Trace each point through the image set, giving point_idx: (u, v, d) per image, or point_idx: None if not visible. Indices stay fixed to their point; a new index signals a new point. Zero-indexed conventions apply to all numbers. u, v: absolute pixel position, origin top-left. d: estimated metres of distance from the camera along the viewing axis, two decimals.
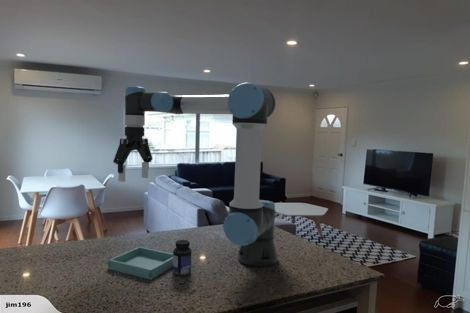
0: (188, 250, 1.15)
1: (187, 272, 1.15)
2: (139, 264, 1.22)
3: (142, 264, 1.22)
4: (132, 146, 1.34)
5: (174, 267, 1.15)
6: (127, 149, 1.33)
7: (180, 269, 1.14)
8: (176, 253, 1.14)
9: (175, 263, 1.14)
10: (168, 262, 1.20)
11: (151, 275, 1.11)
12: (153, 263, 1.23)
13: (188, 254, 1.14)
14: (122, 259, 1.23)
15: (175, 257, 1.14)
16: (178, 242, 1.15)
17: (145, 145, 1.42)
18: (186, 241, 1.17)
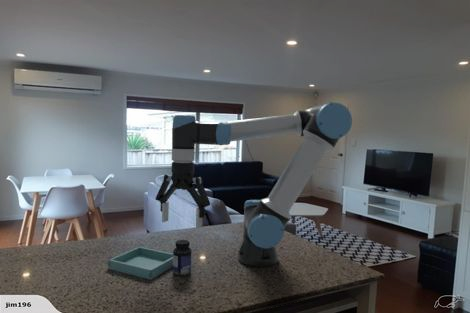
0: (188, 250, 1.15)
1: (187, 272, 1.15)
2: (139, 264, 1.22)
3: (142, 264, 1.22)
4: (172, 184, 1.15)
5: (174, 267, 1.15)
6: None
7: (180, 269, 1.14)
8: (176, 253, 1.14)
9: (175, 263, 1.14)
10: (168, 262, 1.20)
11: (151, 275, 1.11)
12: (153, 263, 1.23)
13: (188, 254, 1.14)
14: (122, 259, 1.23)
15: (175, 257, 1.14)
16: (178, 242, 1.15)
17: None
18: (186, 241, 1.17)
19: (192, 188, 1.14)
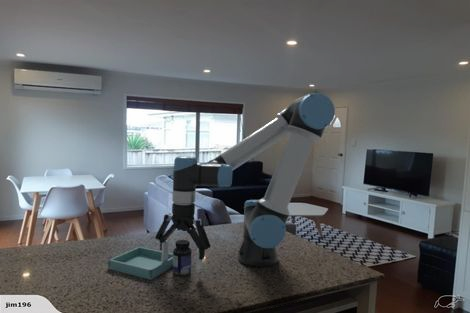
0: (188, 250, 1.15)
1: (187, 272, 1.15)
2: (139, 264, 1.22)
3: (142, 264, 1.22)
4: (172, 225, 1.15)
5: (174, 267, 1.15)
6: None
7: (180, 269, 1.14)
8: (176, 253, 1.14)
9: (175, 263, 1.14)
10: (168, 262, 1.20)
11: (151, 275, 1.11)
12: (153, 263, 1.23)
13: (188, 254, 1.14)
14: (122, 259, 1.23)
15: (175, 257, 1.14)
16: (178, 242, 1.15)
17: None
18: (186, 241, 1.17)
19: (192, 230, 1.14)
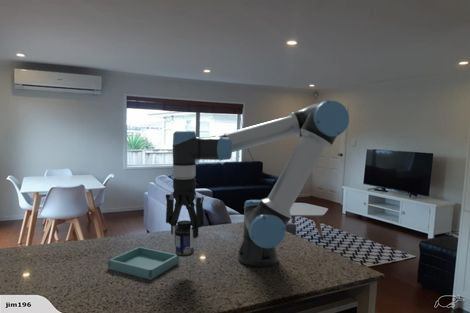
0: None
1: (190, 252, 1.14)
2: (139, 264, 1.22)
3: (142, 264, 1.22)
4: (175, 202, 1.15)
5: (177, 247, 1.14)
6: None
7: (183, 249, 1.13)
8: (178, 233, 1.13)
9: (177, 243, 1.14)
10: (168, 262, 1.20)
11: (151, 275, 1.11)
12: (153, 263, 1.23)
13: None
14: (122, 259, 1.23)
15: (177, 237, 1.14)
16: (180, 222, 1.15)
17: None
18: (188, 221, 1.16)
19: (191, 206, 1.14)
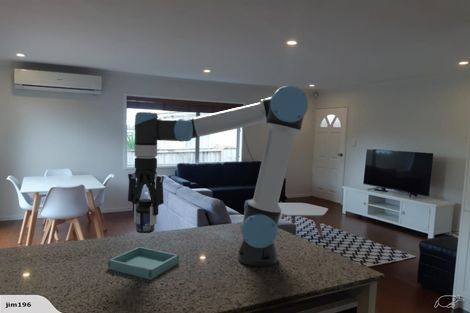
0: None
1: (150, 229, 1.19)
2: (139, 264, 1.22)
3: (142, 264, 1.22)
4: None
5: (137, 224, 1.19)
6: None
7: (143, 225, 1.17)
8: (138, 210, 1.18)
9: (138, 220, 1.18)
10: (168, 262, 1.20)
11: (151, 275, 1.11)
12: (153, 263, 1.23)
13: None
14: (122, 259, 1.23)
15: (138, 214, 1.18)
16: (141, 200, 1.19)
17: None
18: (149, 200, 1.20)
19: (152, 185, 1.18)
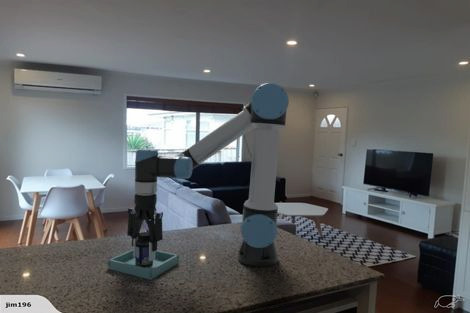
0: None
1: (149, 263, 1.20)
2: None
3: None
4: (136, 217, 1.20)
5: (136, 258, 1.20)
6: None
7: (142, 259, 1.19)
8: (138, 244, 1.19)
9: (137, 254, 1.19)
10: (168, 262, 1.20)
11: (151, 275, 1.11)
12: (153, 263, 1.23)
13: None
14: (122, 259, 1.23)
15: (137, 248, 1.19)
16: (140, 234, 1.20)
17: None
18: (148, 233, 1.22)
19: (151, 221, 1.20)
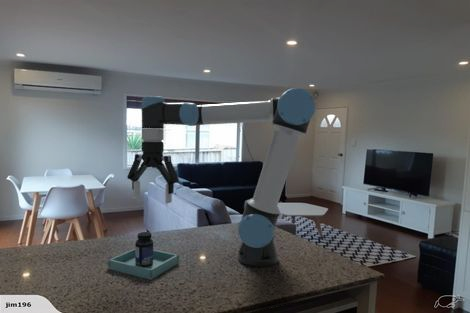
0: (149, 242, 1.20)
1: (149, 263, 1.20)
2: None
3: None
4: (142, 163, 1.21)
5: (136, 258, 1.20)
6: None
7: (142, 259, 1.19)
8: (137, 244, 1.19)
9: (137, 254, 1.19)
10: (168, 262, 1.20)
11: (151, 275, 1.11)
12: (153, 263, 1.23)
13: (149, 245, 1.20)
14: (122, 259, 1.23)
15: (137, 248, 1.19)
16: (140, 234, 1.20)
17: None
18: (148, 233, 1.22)
19: (161, 166, 1.20)
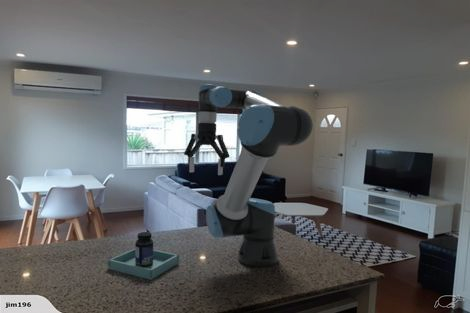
0: (149, 242, 1.20)
1: (149, 263, 1.20)
2: None
3: None
4: (198, 141, 1.43)
5: (136, 258, 1.20)
6: None
7: (142, 259, 1.19)
8: (137, 244, 1.19)
9: (137, 254, 1.19)
10: (168, 262, 1.20)
11: (151, 275, 1.11)
12: (153, 263, 1.23)
13: (149, 245, 1.20)
14: (122, 259, 1.23)
15: (137, 248, 1.19)
16: (140, 234, 1.20)
17: None
18: (148, 233, 1.22)
19: (215, 143, 1.42)
